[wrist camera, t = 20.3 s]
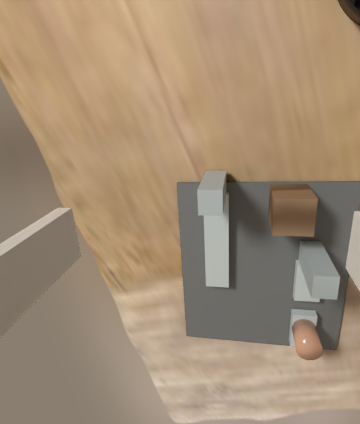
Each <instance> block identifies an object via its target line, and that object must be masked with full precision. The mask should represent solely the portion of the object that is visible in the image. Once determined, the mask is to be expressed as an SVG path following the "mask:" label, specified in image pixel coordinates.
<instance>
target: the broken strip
mask: <svg viewBox="0 0 360 424" xmlns="http://www.w3.org/2000/svg"><path fill="white" fill-rule="evenodd" d="M339 283H340V276H339V274H338V272H337V270H336V268H335V266H334V265H333V263H332V261H331V259H330V257H329V255H328V253H327V252H326V250H325V248H324V246H323V244H322V242H320V241H300V247H299V258H298V260H296V263H295V274H294V285H293V298H294V301H309V302H319V300H320V299H333V300H337V296H338V289H339ZM300 319H306V320H310V321H311V322H313V323H314V324H315V326H316V324H317V314H316V311H315V310H301V309H291V319H290V331H289V344H290V346H294V347H295V342H294V338H293V333H292V325H293V323H294V322H296V321H297V320H300Z"/></svg>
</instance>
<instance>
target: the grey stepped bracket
mask: <svg viewBox="0 0 360 424" xmlns="http://www.w3.org/2000/svg"><path fill="white" fill-rule="evenodd" d="M197 198H198V215H203V216H204V242H205V272H206V286H211V287H228V288H229V192H226V171H206V172H205V174H204V176H203V178H202V181H201V183H200V185H199V187H198V189H197Z"/></svg>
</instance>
